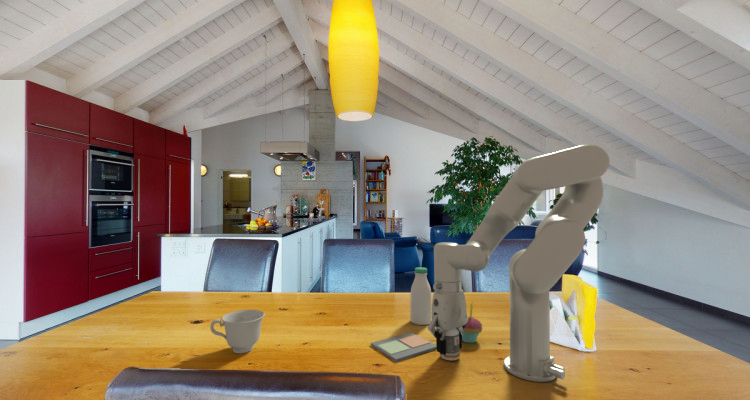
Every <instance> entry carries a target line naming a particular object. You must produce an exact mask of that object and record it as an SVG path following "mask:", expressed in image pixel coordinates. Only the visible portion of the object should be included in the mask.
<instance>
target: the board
mask: <svg viewBox="0 0 750 400" xmlns="http://www.w3.org/2000/svg"><path fill="white" fill-rule="evenodd" d="M370 346H371V347H372V348H374V349H375V350H377V351H379V352H380V353H382V354H383V355H384V356H386V357H387V358H389V359H390V360H392V361H393V362H395V363H398V362H401V361H404V360H407V359H411V358H414V357H416V356H419V355H423V354H427V353H429V352H432V351H437V350H436V344H435V343H433V342H431V341H429V340H427V339H426V338H423V337H421V336H420V335H417V334H415V333H413V332H407V333H403V334H398V335H396V336H392V337H388V338H384V339H380V340H376V341H373V342H370Z"/></svg>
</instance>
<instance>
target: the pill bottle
mask: <svg viewBox="0 0 750 400" xmlns="http://www.w3.org/2000/svg"><path fill="white" fill-rule="evenodd" d="M439 333H440V334H441V330H440V332H439ZM444 340H446V354H445V355H443V354H441V353H439V357H440V358H441V359H443V360H445V361H457V360H459V358H460V357H461V349H460V342H459V331H458V329H456V328H455V329H451V330H448V331H446V333H445V337H444Z"/></svg>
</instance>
